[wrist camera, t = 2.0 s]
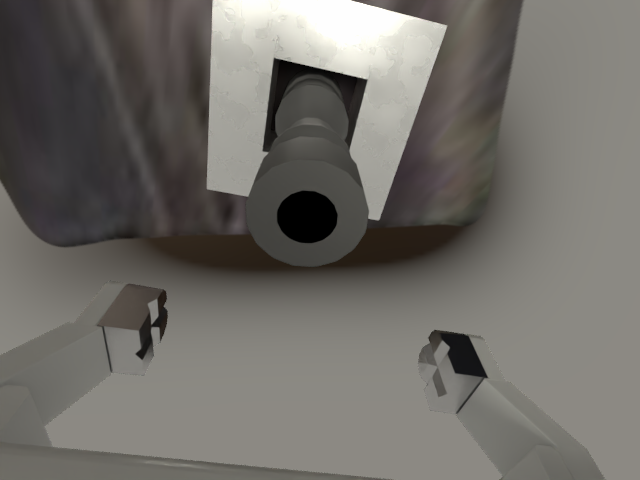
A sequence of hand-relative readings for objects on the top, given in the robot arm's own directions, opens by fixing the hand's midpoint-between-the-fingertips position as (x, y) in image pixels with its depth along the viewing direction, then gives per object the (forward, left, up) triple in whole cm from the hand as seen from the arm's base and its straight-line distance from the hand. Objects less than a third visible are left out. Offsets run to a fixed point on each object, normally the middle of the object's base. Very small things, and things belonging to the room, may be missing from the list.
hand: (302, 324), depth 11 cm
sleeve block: (0, 0, -31) cm, 31 cm away
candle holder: (0, 0, -32) cm, 32 cm away
